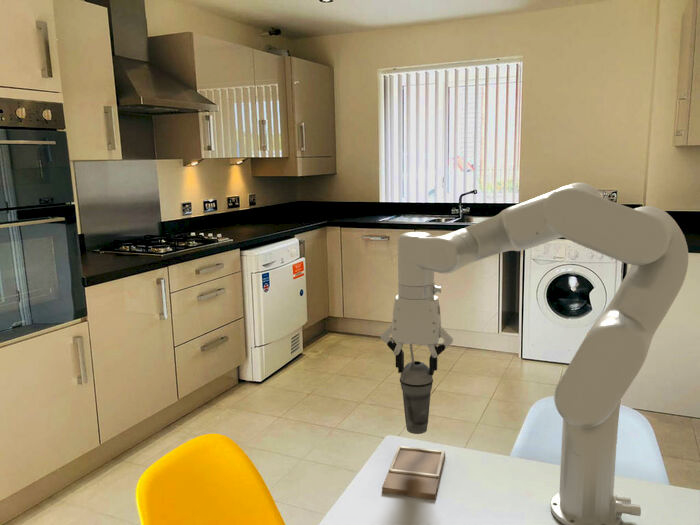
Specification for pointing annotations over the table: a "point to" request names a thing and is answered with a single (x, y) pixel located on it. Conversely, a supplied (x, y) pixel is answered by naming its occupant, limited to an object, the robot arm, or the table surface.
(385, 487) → the walnut board
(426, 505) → the table surface
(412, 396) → the beverage cup
